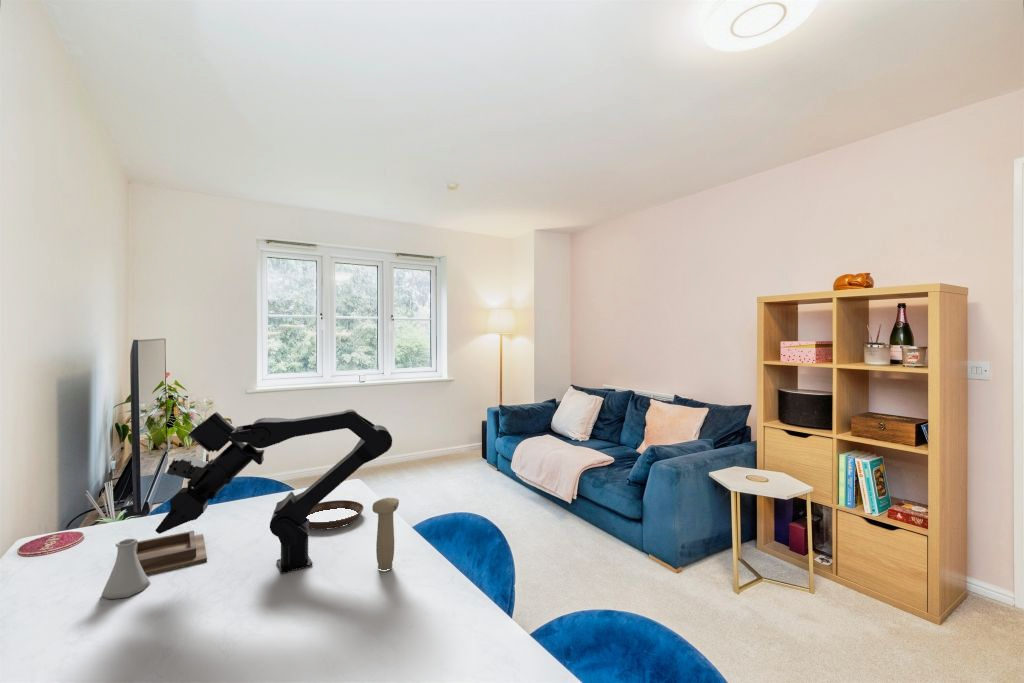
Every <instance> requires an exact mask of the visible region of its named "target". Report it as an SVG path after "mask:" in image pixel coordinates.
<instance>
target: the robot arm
mask: <svg viewBox="0 0 1024 683" xmlns="http://www.w3.org/2000/svg"><path fill="white" fill-rule="evenodd" d="M343 429H344V430H345V429H348V430H349V431H351V432H352V433H353V434H355V435H356V436H357V437H359V438H360V439H359V440H358V442H357V443H356V445H355V446H354V448H352V450H351V451H350V452H349V453H348V454H346V455H345V456H344V457H343V458H341V459H340V460H339V461H338V462H337V463H336V464H335V465H333V466H332V467H331V468H330V469H329V470H327V471H326V472H325V473H324V474H323V475H321V476H320V477H319V478H318V479H317V480H316V481H315V482H313V483H312V484H310V486H309V487H308V488H306V490H304V491H301V492H300V493H298V494H296V495H295V493H294V492H293V491H290V492H289V493H288V494H287V496H285V498H283V499H282V500H281V501H278V502H277V503H276V506H275V508H274V511H273V512H272V515H271V519H270V522H269V529H270V532H271V533H272V534H273V536H274V537H277V539H278V540H279V542H280V559H276V565H277V566H278V570H279V571H280V573H281V574H284V572H286V573H289V572H292V570H293V571H296V569H297V570H300V569H299V568H301V569H304V568H307V566H308V567H311V566H310V565H312V564H313V563H314V562H313V561H312V559H311V558H310V556H309V529H310V528H309V519H307V518H306V517H307V516H308V514H309V513H310V512H311V510H312V509H313V508H314V506H316V505H317V504H318V503H321V501H322V500H324V499H325V498H326V497H327V496H328V495H330V494H331V493H332V492H333V491H334V490H335V489H336V488H337V487H339V486H340V485H341V484H342V483H343V482H344V481H346V480H347V479H348V478H349V477H351V475H352V474H354V473H355V472H356V471H357V470H358V469H360V468H361V467H362V466H363V465H365V464H367V463H369V462H371V461H374V460H376V459H378V458H379V457H380V456H382V455H383V454H386V453H387V452H388V451H390V449H391V448H392V445H393V437H392V435H391V433H390V432H389V429H387V428H386V427H385V426H383V425H379V424H378V425H377V424H376V425H375V424H374V423H373V422H371V421H369V420H368V419H367V418H365V417H364V416H362V415H360V414H359V413H358V412H357V411H356V410H354V409H346V410H344V411H337V412H331V413H326V414H325V413H324V414H318V415H312V416H311V415H310V416H305V417H304V416H303V417H298V418H297V417H296V418H285V417H284V418H283V417H262V418H258V419H257V420H255V421H254V422H253V423H251V424H246V425H239V426H236V427H235V426H233V425H232V424H230V422H228V421H227V420H225V418H224V417H223V416H222V415H221V414H220V413H219V412H217V411H216V412H214V413H212V414H211V415H210V416H209V417H208V418H207V419H205V420H203V421H202V422H201V423H200V424H198V425H197V426H196V427H194V428H193V429H192V430H191V431H190V432H188V434H187V436H188V437H189V438H190V439H191V440H193V441H194V442H195V443H197V445H198V446H200V447H202V448H203V450H205V451H206V452H207V453H210V452H212V453H214V452H216V453H218V452H219V451H220V450H222V449H223V448H224V447H225V446H226V445H227V444H228V443H229V442H230V443H231V444H229V445H228V446H227V447H226V448H225V449H224V450H223V451H222V452H220V454H218V455H217V456H216V457H215V458H212V459H210V460H209V461H208V462H206V461H204V460H203V461H202V460H201V459H199V458H195V457H191V456H188V455H186V454H181V453H180V454H178V455H176V456H174V458H173V459H172V461H171V463H170V464H169V465H168V469H167V470H166V473H167V474H168V475H170V476H176V477H180V478H183V479H185V480H186V479H187V480H188V481H187V487H181V488H180V489H179V490H178V491H177V492H176V493H175V494H174V495H173V496H171V498H169V500H168V501H169V502H168V505H170V510H169V512H167V514H165V515H166V516H164V518H163V519H162V521H161V523H160V524H158V526H156V528H155V530H154V531H155V532H156V533H157V534H159V535H160V534H162V533H164V532H168V531H170V530H172V529H174V528H176V527H179V526H181V525H183V524H186V523H189V522H192V521H196V520H197V519H199V517H201V515H202V514H204V512H205V511H206V510H207V508H208V504H209V503H208V501H209V500H210V501H212V500H213V499H214V498H215V497H216V496H217V495H218V493H219V492H221V490H223V488H225V487H226V486H228V485H229V484H231V482H232V481H233V480H234V478H235V477H236V476H237V475H238V474H239V473H240V472H242V471H243V470H244V469H245V468H246V467H247V466H248V465H249V464H250V463H251V462H253V461H254V462H255V463H256V464H257V465H259V466H261V465H262V464H263V462H264V454H265V449H264V448H268V447H271V446H274V445H277V444H280V443H282V442H285V441H287V440H289V439H292V438H296V437H301V436H302V437H303V436H308V435H314V434H321V433H326V432H333V431H338V430H339V431H340V430H343ZM312 566H313V565H312ZM303 567H304V568H303ZM288 571H289V572H288Z"/></svg>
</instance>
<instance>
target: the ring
mask: <svg viewBox="0 0 1024 683" xmlns="http://www.w3.org/2000/svg"><path fill="white" fill-rule="evenodd" d="M337 508H345V509H351V510H354V511H356V512H357V513H358V514H356V515H354V516H351V517H348V518H345V519H341V520H336V521H329V522H310V521H309V529H311V528H314V529H313V530H318V529H325V530H328V529H327V528H334V529H336V528H335V527H339V528H341V527H340V526H343V525H346V524H348V525H350V524H352V523H354V522H355V521H356V520H358V518H359V517H360V515H361V514H362V513H363V511H364V505H363V504H362V503H361V502H357V501H354V500H347V499H346V500H344V499H342V500H341V499H339V500H328V501H327V500H326V501H322V502H321V501H320V502H319V503H318V504H317V505H316V506H314V508H313V509H312V510H311V512H310V513H309V514H308V515H310V514H313V513H315V512H319V511H323V510H330V509H337ZM354 520H355V521H354ZM353 521H354V522H353ZM351 522H352V523H351ZM349 523H350V524H349ZM346 526H347V525H346ZM343 527H344V526H343Z"/></svg>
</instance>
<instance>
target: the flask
mask: <svg viewBox="0 0 1024 683" xmlns="http://www.w3.org/2000/svg"><path fill="white" fill-rule="evenodd" d="M137 542H138V539H137V538H125V539H122V540H120V541H118V542H117V543H115V547H116V548H117V554H116V558H115V562H114V565H113V568H112V570H111V572H110V575H109V578H108V580H107V582H106V584H105V585H104V588H103V590H102V592H101V596H102V597H103V598H105V599H108V600H113V599H122V598H123V599H124V598H128V597H130V596H133V595H135V594H137V593H140V592H141V591H144V590H145V589H146V588H147V587H148V586H149V585H150V584H151V582H150V580H149V578H148V575H146V574H145V572H144V570H143V568H142V566H141V564H140V562H139V560H138V558H137V554H136V550H135V544H136V543H137Z"/></svg>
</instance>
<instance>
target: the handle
mask: <svg viewBox="0 0 1024 683" xmlns="http://www.w3.org/2000/svg"><path fill="white" fill-rule="evenodd" d="M399 502H400V499H399V498H395V497H384V498H382V499H378V500H376V501H375V502H373V504H372V508H371V509H372V512H373V513H375V514H377V528H376V529H377V530H376V545H375V546H376V547H375V548H376V552H375V553H376V561H377V570H378V569H381V570H387V569H391V568H392V569H393V561H394V558H395V557H394V556H395V526H394V512H396V511H397V510H398V507H399ZM392 569H391V570H392Z"/></svg>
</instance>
